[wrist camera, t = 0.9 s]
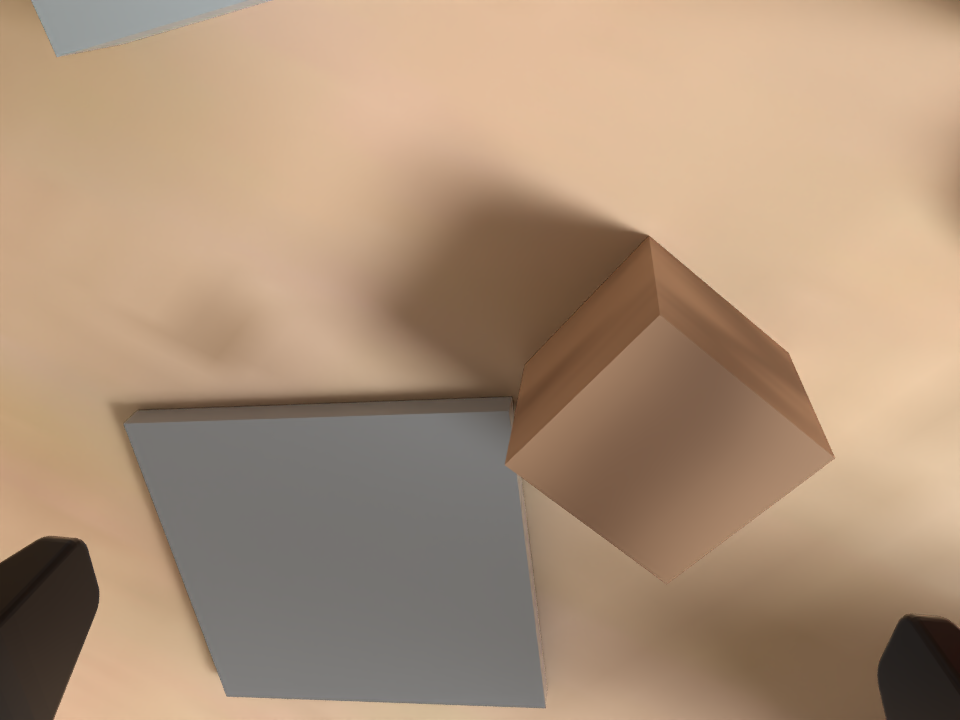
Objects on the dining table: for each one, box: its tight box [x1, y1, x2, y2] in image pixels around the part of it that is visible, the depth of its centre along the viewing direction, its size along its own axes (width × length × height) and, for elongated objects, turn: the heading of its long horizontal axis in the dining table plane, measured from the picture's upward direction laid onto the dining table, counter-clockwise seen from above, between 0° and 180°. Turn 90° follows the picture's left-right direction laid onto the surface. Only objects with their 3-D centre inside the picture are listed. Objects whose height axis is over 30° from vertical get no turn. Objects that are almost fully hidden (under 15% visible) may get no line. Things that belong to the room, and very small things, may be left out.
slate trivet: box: [124, 397, 547, 708], centre depth 26 cm, size 12×12×1 cm
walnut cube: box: [505, 236, 835, 584], centre depth 19 cm, size 5×5×5 cm
